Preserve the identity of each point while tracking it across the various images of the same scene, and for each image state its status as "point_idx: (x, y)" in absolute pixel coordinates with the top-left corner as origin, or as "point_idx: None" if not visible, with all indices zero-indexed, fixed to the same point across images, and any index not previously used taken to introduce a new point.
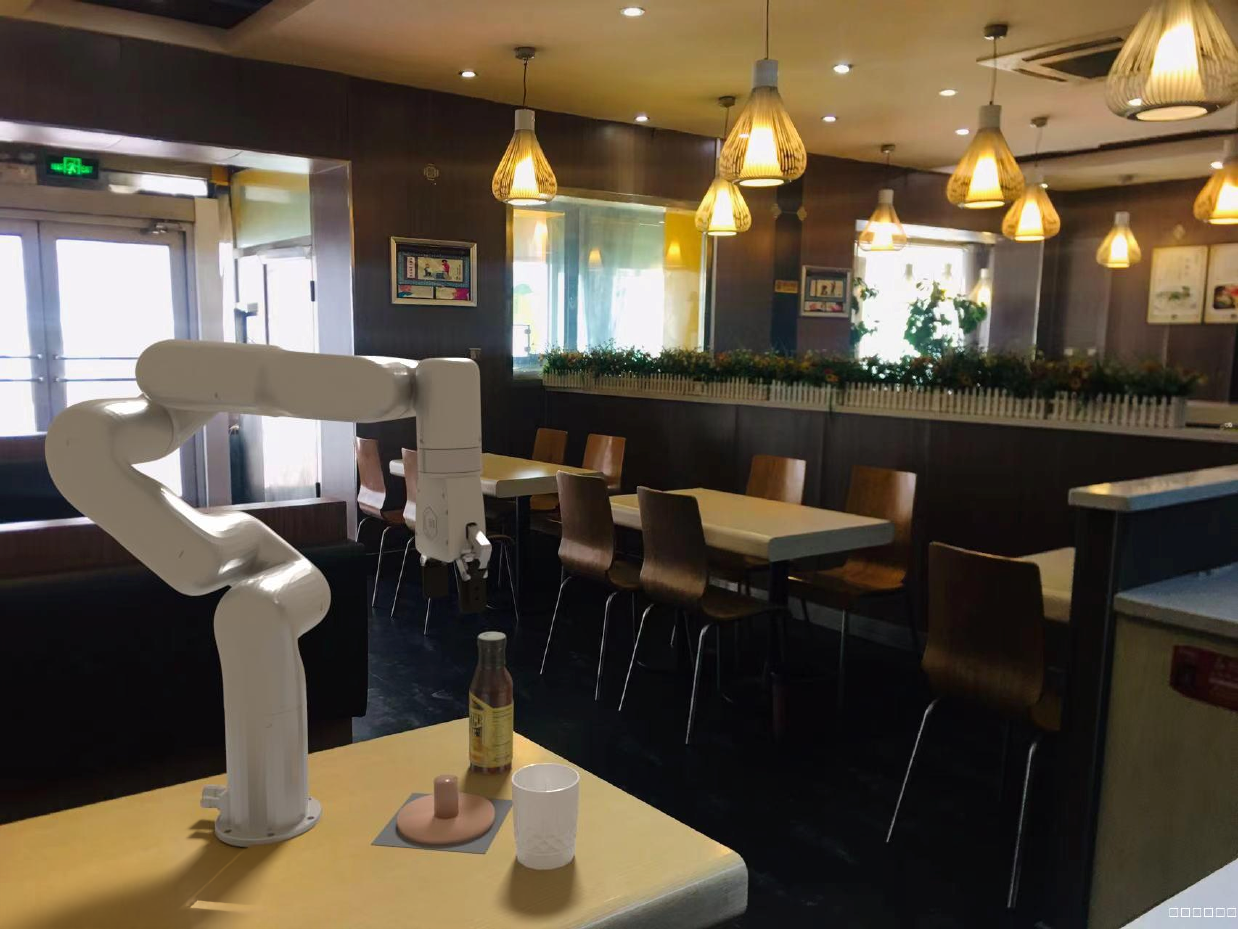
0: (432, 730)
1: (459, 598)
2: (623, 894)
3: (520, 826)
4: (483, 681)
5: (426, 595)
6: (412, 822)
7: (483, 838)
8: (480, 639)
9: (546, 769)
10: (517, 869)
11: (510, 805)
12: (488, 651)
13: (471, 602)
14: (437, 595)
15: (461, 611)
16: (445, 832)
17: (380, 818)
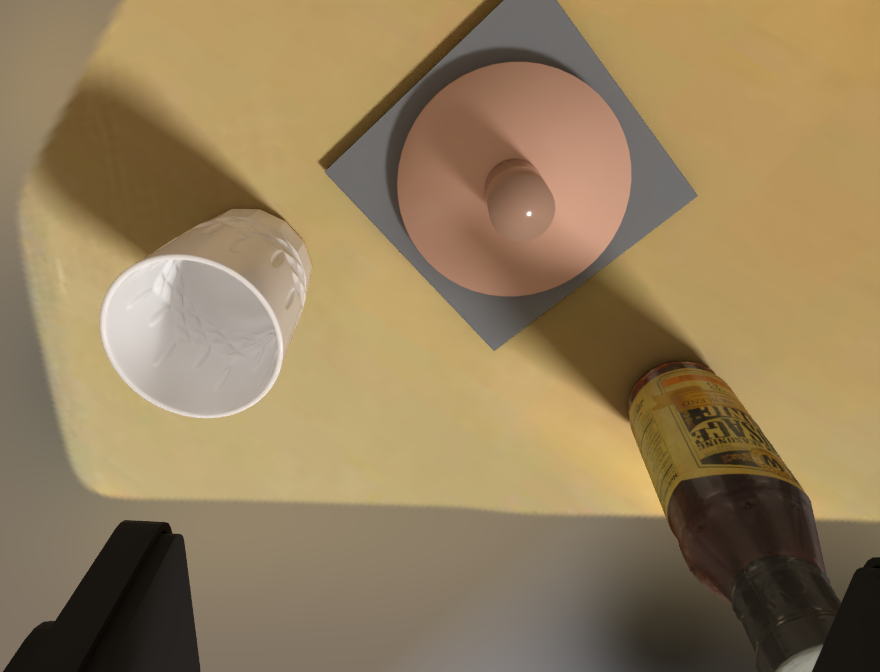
0: None
1: (101, 625)
2: (62, 299)
3: (206, 227)
4: (745, 523)
5: (878, 579)
6: (530, 98)
7: (386, 206)
8: None
9: (267, 379)
10: (248, 198)
11: (479, 331)
12: (780, 617)
13: (21, 650)
14: (832, 646)
15: (121, 528)
16: (432, 137)
17: (658, 72)
